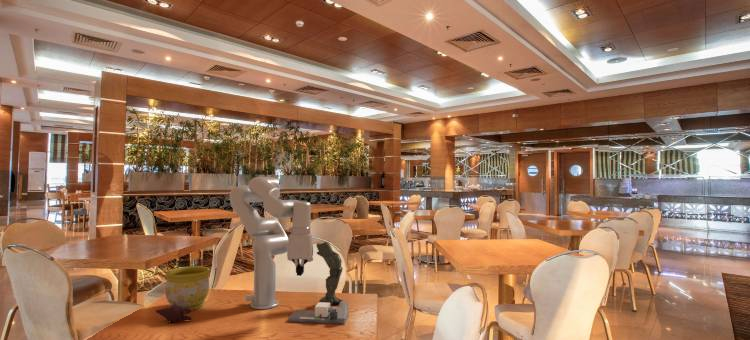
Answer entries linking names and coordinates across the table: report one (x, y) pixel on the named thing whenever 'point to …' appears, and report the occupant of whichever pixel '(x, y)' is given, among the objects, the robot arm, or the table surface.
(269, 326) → the table surface
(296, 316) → the gauge base
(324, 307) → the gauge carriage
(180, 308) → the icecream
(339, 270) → the mechanical leg
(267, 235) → the robot arm
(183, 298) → the flowerpot
